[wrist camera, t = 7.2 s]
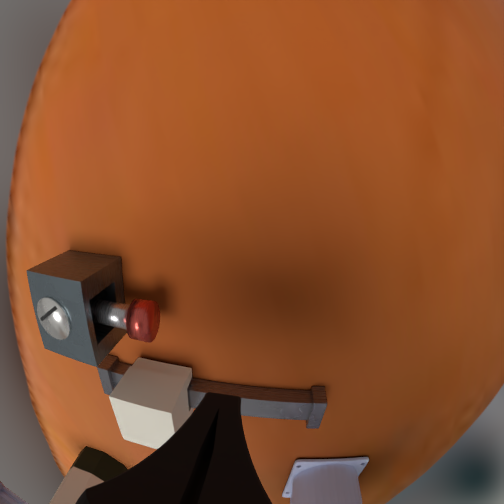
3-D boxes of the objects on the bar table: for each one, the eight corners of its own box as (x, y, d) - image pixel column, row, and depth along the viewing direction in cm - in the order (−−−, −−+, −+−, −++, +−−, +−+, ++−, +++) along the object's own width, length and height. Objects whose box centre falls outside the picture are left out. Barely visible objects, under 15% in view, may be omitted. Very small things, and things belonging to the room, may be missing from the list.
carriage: (194, 409, 22) (178, 454, 17) (145, 398, 22) (123, 439, 17) (191, 365, 20) (171, 413, 15) (137, 355, 21) (108, 396, 16)
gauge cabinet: (128, 330, 20) (94, 369, 15) (79, 318, 21) (42, 350, 16) (121, 256, 19) (77, 283, 14) (69, 250, 19) (23, 271, 14)
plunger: (161, 329, 18) (146, 350, 16) (108, 318, 19) (90, 336, 16) (158, 294, 18) (142, 312, 15) (104, 285, 18) (83, 300, 15)
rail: (316, 411, 21) (318, 428, 19) (114, 380, 22) (104, 393, 20) (324, 386, 20) (327, 403, 18) (108, 354, 21) (97, 367, 20)
